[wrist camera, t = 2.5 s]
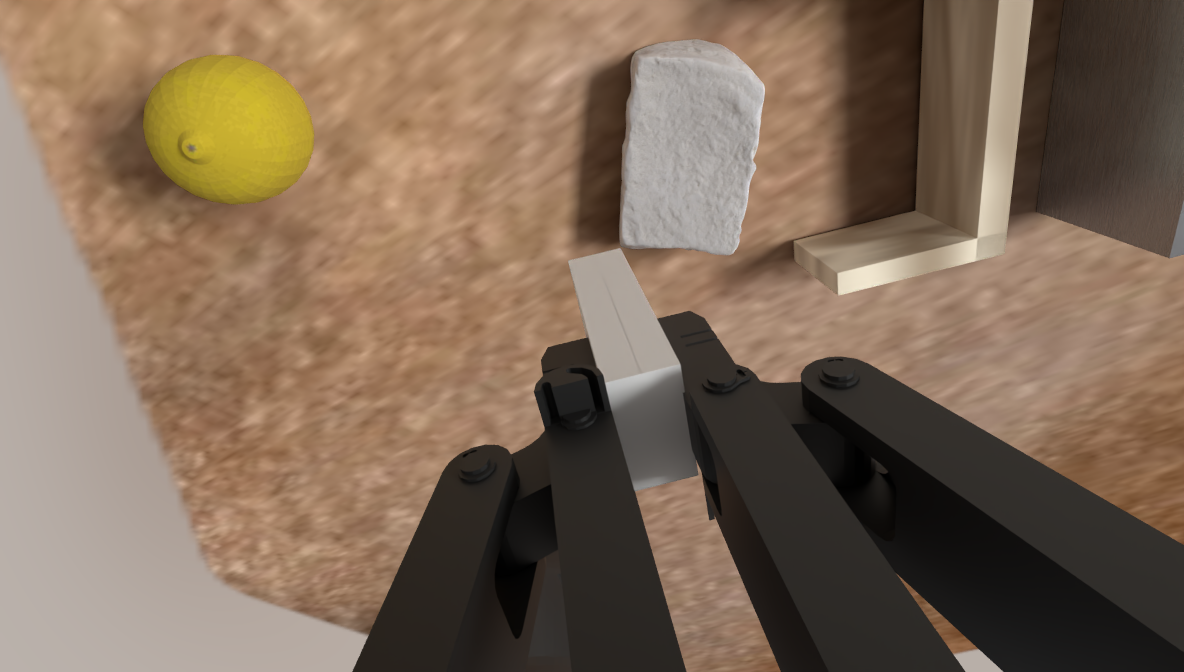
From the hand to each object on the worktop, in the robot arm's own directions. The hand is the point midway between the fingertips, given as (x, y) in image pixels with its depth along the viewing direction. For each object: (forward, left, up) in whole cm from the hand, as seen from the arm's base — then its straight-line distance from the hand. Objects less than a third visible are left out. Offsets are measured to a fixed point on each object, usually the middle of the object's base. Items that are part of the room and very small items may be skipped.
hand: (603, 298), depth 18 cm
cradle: (+15, 0, -15) cm, 22 cm away
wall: (+27, 0, -15) cm, 31 cm away
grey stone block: (+6, 0, -16) cm, 17 cm away
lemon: (-12, +6, -15) cm, 21 cm away
